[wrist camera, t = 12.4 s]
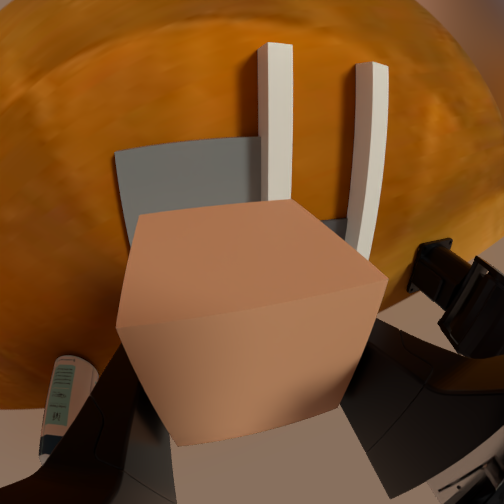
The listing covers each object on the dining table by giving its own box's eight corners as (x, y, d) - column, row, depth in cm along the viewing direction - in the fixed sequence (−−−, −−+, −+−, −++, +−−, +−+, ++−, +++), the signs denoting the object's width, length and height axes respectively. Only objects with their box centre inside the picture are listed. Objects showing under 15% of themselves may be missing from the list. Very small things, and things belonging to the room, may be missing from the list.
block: (291, 199, 8) (388, 278, 4) (283, 312, 10) (337, 407, 7) (139, 214, 7) (115, 327, 3) (164, 332, 9) (177, 446, 6)
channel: (371, 67, 16) (388, 66, 14) (353, 260, 24) (365, 272, 22) (257, 49, 14) (267, 42, 12) (258, 278, 22) (266, 292, 20)
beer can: (84, 386, 23) (79, 486, 13) (48, 363, 20) (30, 467, 10) (108, 370, 22) (106, 483, 12) (69, 344, 20) (50, 463, 10)
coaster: (258, 136, 17) (261, 136, 16) (258, 258, 21) (260, 262, 20) (116, 151, 15) (114, 152, 14) (139, 275, 19) (138, 280, 18)
